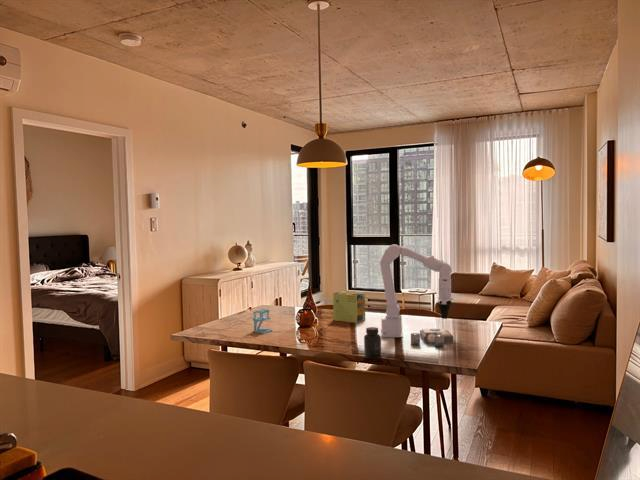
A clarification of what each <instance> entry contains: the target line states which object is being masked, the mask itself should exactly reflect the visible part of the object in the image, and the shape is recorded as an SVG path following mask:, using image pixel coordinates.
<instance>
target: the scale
mask: <svg viewBox="0 0 640 480" xmlns="http://www.w3.org/2000/svg"><path fill="white" fill-rule="evenodd" d="M419 334H420V340H422V342H423V343H424V344H426V345H435V335H438V334H439V335H444V344H454V335H452V333H451V332H450V330H448V329H446V328H422V329H420V330H419Z"/></svg>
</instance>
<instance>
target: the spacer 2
mask: <svg viewBox="0 0 640 480" xmlns="http://www.w3.org/2000/svg"><path fill="white" fill-rule="evenodd" d="M434 348H437V349H443V348H445V343H444V335H439V334H438V335H435V344H434Z"/></svg>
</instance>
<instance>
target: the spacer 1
mask: <svg viewBox="0 0 640 480" xmlns="http://www.w3.org/2000/svg"><path fill="white" fill-rule="evenodd" d="M410 346H411V347H419V346H421V337H420V332H419V333H418V332H413V333H410Z"/></svg>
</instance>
